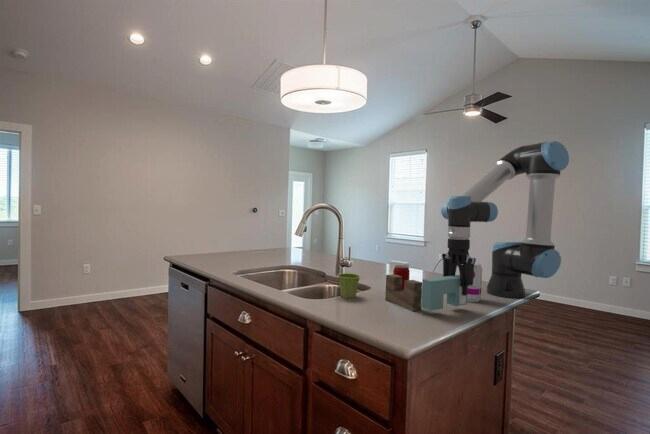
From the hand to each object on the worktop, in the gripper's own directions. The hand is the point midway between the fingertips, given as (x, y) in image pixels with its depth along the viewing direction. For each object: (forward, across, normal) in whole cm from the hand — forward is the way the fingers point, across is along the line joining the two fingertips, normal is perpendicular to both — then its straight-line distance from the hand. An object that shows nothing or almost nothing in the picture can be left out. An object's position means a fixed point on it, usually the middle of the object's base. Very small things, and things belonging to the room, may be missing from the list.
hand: (456, 301), depth 126 cm
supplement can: (+3, -8, +17) cm, 19 cm away
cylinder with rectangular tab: (+3, -36, +3) cm, 36 cm away
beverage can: (+3, -26, -4) cm, 27 cm away
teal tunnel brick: (+1, 0, -6) cm, 6 cm away
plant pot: (+3, -31, -27) cm, 41 cm away
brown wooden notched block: (+3, -13, -14) cm, 20 cm away
